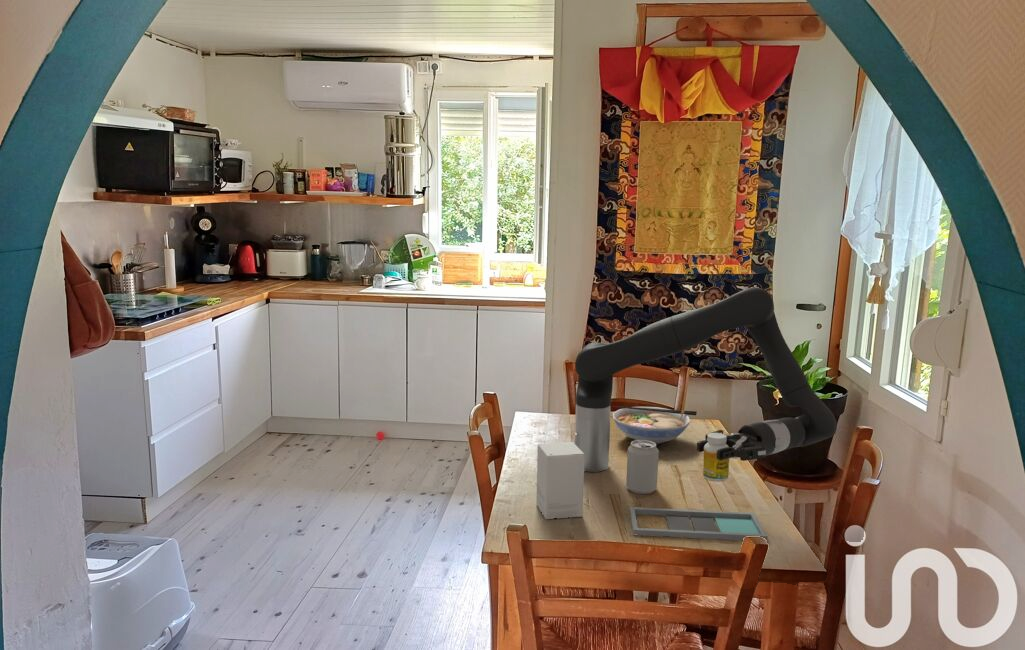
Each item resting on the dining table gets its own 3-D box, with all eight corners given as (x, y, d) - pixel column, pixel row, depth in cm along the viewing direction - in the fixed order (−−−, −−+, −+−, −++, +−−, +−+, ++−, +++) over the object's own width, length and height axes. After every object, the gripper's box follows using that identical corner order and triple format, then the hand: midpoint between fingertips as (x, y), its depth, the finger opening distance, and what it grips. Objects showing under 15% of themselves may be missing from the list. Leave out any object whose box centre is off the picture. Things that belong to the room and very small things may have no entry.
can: (638, 497, 181) (640, 449, 179) (620, 487, 188) (621, 440, 186) (663, 492, 184) (665, 445, 182) (644, 482, 191) (646, 436, 189)
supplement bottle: (714, 471, 167) (716, 430, 165) (733, 479, 163) (735, 436, 161) (697, 476, 164) (699, 434, 162) (716, 484, 160) (718, 440, 158)
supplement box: (583, 517, 169) (586, 453, 167) (545, 520, 168) (546, 456, 165) (572, 501, 178) (574, 440, 176) (535, 504, 176) (536, 443, 174)
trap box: (633, 535, 161) (633, 529, 161) (629, 512, 173) (629, 507, 172) (767, 541, 159) (767, 536, 158) (753, 517, 170) (754, 512, 170)
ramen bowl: (600, 447, 217) (601, 420, 216) (615, 425, 239) (616, 400, 237) (689, 458, 209) (690, 429, 208) (696, 434, 231) (697, 408, 229)
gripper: (740, 414, 175) (685, 425, 166) (790, 430, 162) (733, 443, 154) (739, 445, 176) (684, 457, 168) (788, 463, 164) (732, 478, 155)
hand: (708, 451), depth 161 cm, fingers closed on supplement bottle, 5 cm apart
